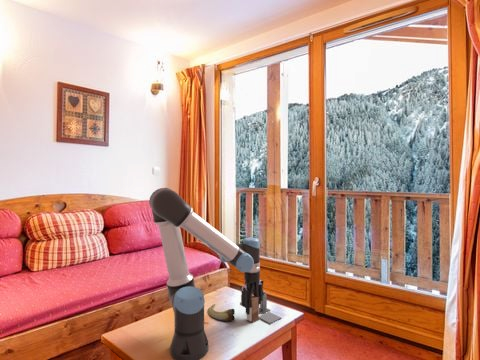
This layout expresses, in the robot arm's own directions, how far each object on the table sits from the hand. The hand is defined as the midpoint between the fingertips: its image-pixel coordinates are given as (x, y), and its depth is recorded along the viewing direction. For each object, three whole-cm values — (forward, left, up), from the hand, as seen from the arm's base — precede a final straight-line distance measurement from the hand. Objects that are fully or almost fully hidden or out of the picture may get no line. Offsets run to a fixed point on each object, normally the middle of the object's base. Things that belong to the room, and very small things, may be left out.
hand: (252, 318), depth 143 cm
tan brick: (0, +2, -1) cm, 2 cm away
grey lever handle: (+3, +3, -1) cm, 5 cm away
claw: (-8, +15, -1) cm, 17 cm away
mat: (+7, -4, -1) cm, 8 cm away
